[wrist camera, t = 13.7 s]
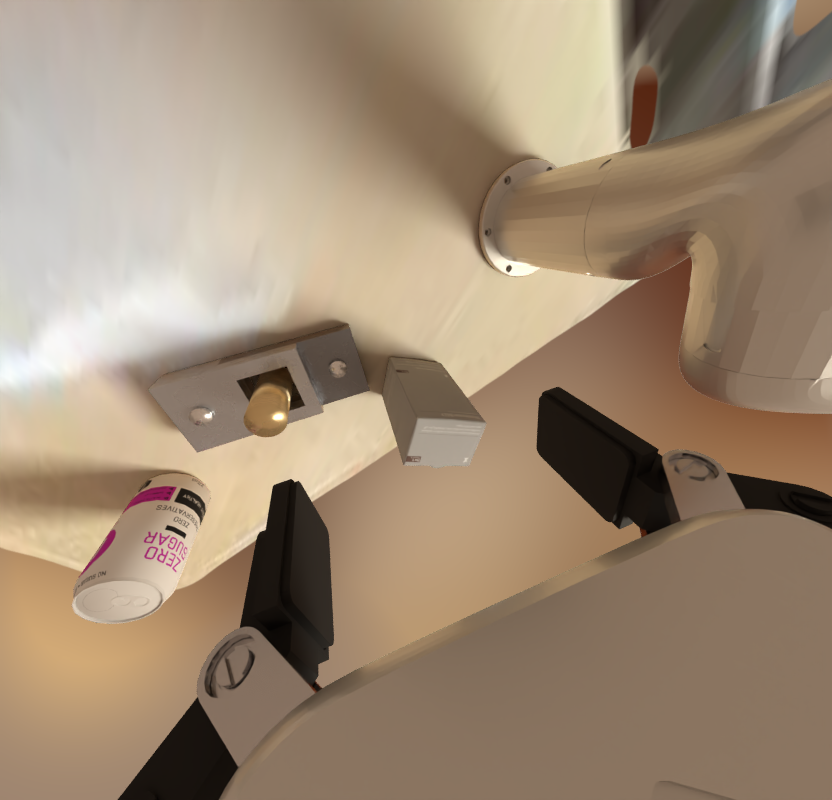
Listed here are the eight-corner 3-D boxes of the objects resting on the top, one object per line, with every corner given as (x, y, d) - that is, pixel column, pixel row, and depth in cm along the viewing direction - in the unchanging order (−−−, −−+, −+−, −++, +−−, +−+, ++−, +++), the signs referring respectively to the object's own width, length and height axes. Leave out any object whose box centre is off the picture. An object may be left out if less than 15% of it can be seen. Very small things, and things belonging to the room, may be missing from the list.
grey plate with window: (348, 323, 37) (352, 334, 34) (367, 384, 42) (372, 399, 38) (163, 374, 34) (144, 392, 30) (207, 433, 39) (195, 455, 35)
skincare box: (440, 361, 44) (494, 416, 31) (428, 403, 47) (473, 469, 34) (385, 354, 41) (419, 412, 28) (377, 399, 44) (404, 471, 31)
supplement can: (133, 506, 41) (54, 627, 28) (151, 462, 39) (74, 572, 26) (200, 517, 45) (157, 627, 32) (220, 477, 43) (181, 579, 30)
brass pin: (285, 361, 37) (277, 398, 29) (298, 388, 39) (293, 429, 31) (253, 370, 37) (235, 411, 28) (268, 396, 39) (255, 441, 31)
